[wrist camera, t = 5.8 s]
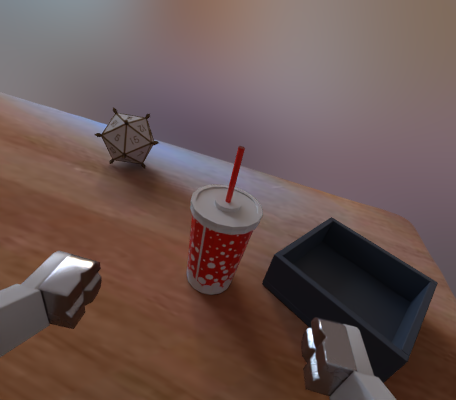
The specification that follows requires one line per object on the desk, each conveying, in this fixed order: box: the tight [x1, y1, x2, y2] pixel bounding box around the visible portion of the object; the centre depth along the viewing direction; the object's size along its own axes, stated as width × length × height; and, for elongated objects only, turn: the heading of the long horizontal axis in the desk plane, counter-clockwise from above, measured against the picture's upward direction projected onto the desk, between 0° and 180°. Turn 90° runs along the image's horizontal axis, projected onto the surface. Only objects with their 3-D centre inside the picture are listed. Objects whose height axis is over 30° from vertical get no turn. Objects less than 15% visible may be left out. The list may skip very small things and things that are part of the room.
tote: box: [262, 217, 437, 383], centre depth 27 cm, size 12×12×4 cm
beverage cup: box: [187, 146, 263, 295], centre depth 23 cm, size 6×6×14 cm
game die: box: [95, 108, 158, 168], centre depth 40 cm, size 9×8×10 cm
